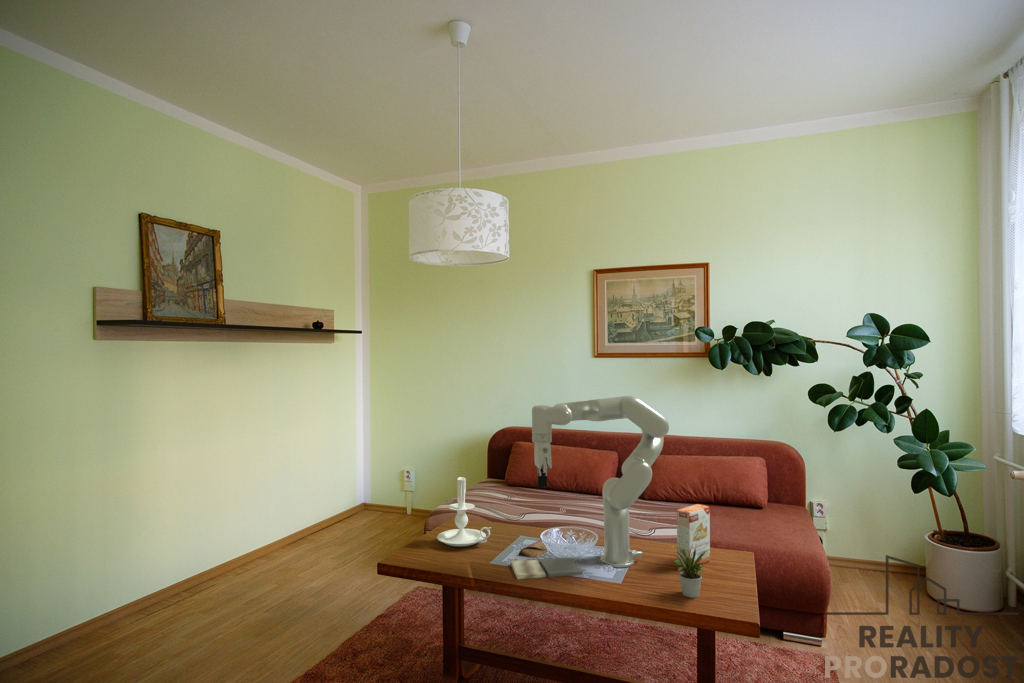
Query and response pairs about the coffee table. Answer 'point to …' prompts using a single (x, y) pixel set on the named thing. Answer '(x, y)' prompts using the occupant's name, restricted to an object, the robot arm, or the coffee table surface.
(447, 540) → the candlestick
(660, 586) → the coffee table surface
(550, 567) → the floor board
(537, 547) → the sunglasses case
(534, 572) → the ash plank
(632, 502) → the robot arm
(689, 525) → the cracker box
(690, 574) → the house plant
